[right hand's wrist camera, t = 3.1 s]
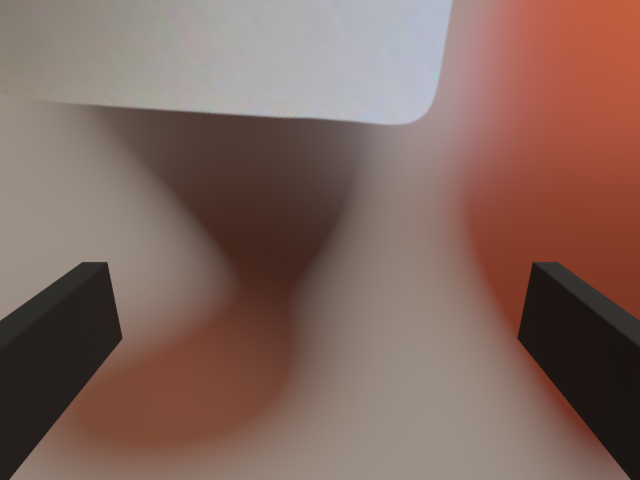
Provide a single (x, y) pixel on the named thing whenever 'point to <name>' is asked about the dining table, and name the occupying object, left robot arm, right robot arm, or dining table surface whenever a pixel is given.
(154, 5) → the dining table surface
